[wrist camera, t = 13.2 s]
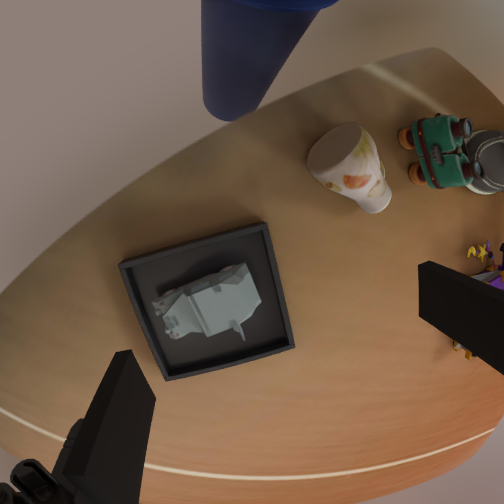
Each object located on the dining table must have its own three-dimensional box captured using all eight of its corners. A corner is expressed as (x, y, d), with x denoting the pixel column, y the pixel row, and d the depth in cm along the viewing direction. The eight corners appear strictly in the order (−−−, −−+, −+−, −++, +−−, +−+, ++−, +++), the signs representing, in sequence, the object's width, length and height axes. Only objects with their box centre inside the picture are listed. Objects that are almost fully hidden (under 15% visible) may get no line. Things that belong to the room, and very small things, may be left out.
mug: (362, 231, 32) (364, 227, 23) (305, 172, 34) (284, 148, 25) (405, 187, 30) (422, 166, 21) (346, 131, 32) (340, 93, 23)
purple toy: (501, 229, 36) (554, 241, 24) (488, 350, 42) (527, 374, 30) (453, 248, 35) (517, 267, 23) (442, 382, 40) (483, 416, 28)
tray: (123, 260, 29) (117, 264, 27) (263, 220, 30) (266, 222, 28) (167, 372, 32) (165, 381, 30) (290, 339, 33) (295, 347, 31)
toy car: (154, 295, 29) (146, 313, 24) (243, 259, 30) (250, 270, 25) (181, 345, 31) (178, 369, 26) (265, 312, 31) (274, 332, 27)
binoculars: (509, 174, 23) (476, 196, 22) (450, 175, 33) (408, 195, 32) (490, 102, 21) (452, 106, 19) (432, 115, 31) (387, 125, 30)
